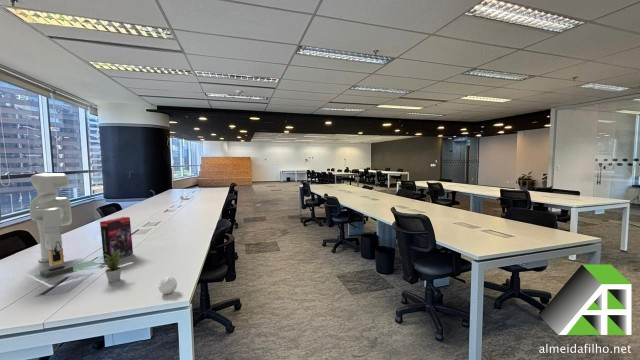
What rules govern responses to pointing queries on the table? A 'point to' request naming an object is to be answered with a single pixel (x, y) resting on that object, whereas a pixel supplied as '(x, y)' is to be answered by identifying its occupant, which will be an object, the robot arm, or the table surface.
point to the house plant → (112, 267)
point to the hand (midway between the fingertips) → (55, 260)
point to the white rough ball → (167, 285)
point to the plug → (52, 258)
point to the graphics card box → (116, 237)
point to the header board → (76, 267)
